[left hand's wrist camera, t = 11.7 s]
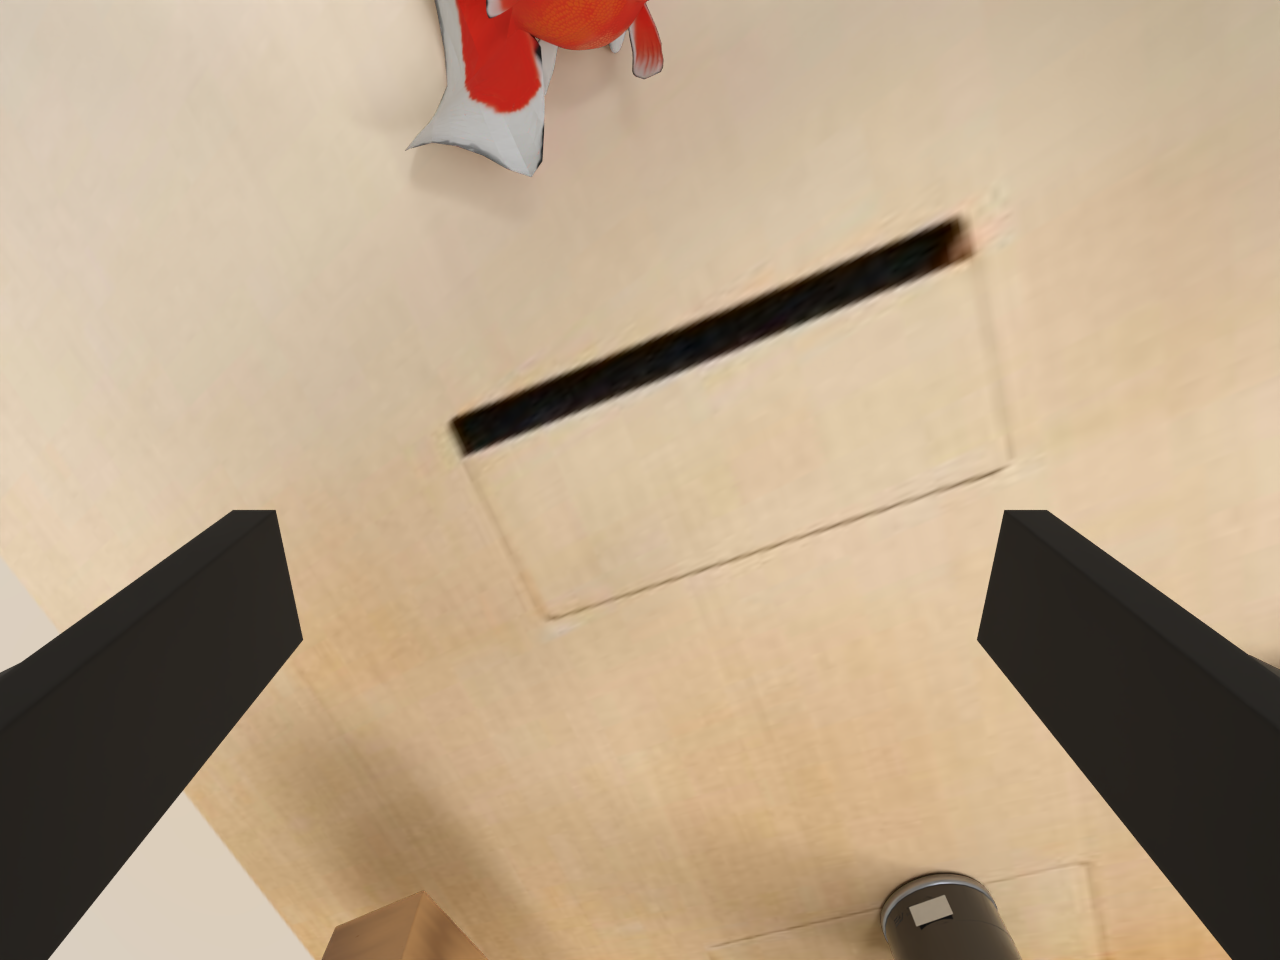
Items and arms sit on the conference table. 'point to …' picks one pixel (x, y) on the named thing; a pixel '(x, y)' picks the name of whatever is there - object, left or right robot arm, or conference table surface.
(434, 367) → the conference table surface
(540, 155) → the fish
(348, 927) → the bar
